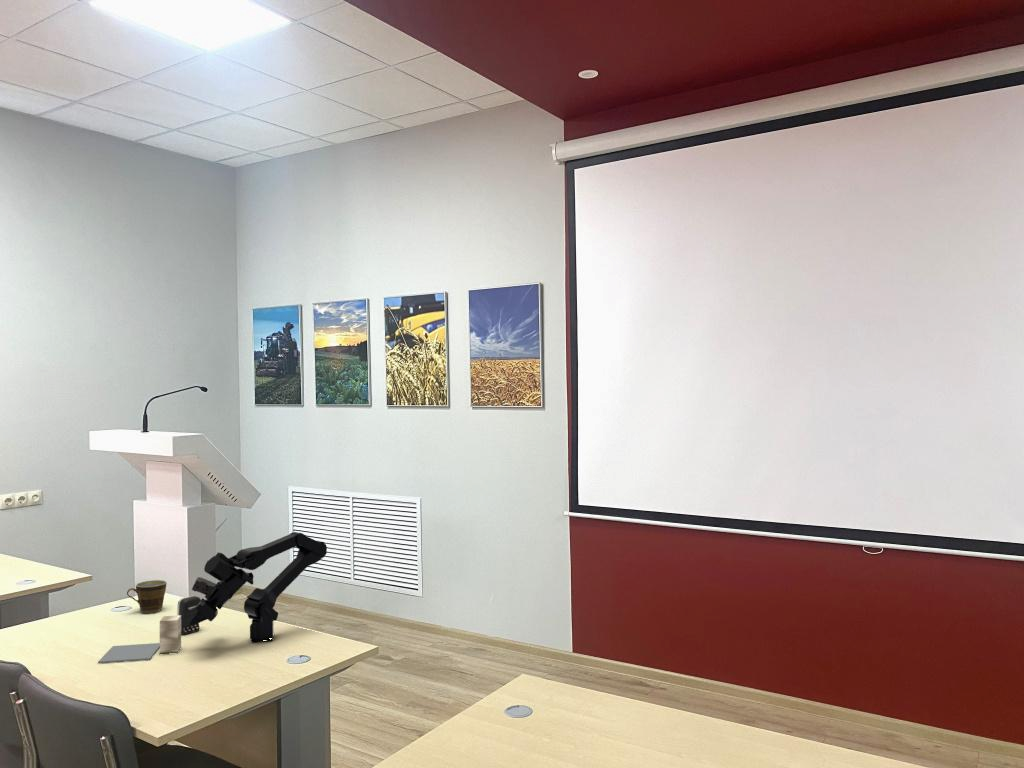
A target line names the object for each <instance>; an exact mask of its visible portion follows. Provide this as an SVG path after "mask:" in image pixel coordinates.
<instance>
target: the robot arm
mask: <svg viewBox="0 0 1024 768" xmlns="http://www.w3.org/2000/svg"><path fill="white" fill-rule="evenodd" d="M293 548H296V549H298V550H297V554H296V557H295V558H294V559H293V560H292V561H291V562H290V563H289V564H288V565H287V566H286V567H285V568H284V569H283V570H282V571H281V572H280V573H279V574H278V575H277V576H276V577H275V578H274V579H273V580H272V581H271V582H270V583H269V584H268V585H267V586H266V587H265V588H263V589H262V588H259V587H256V588H255V589H254V590H253V591H252V592H251V593H250V594H249V595H246V599H245V601H244V602H243V610H244V613H245V614H246V615H247V617H248V619H250V620H251V624H250V626H249V640H250V642H251V641H252V642H251V643H254V642H253V641H263V640H270V639H269V638H272V639H273V640H274V638H273V633H274V622H275V621H277V620H278V616H279V613H278V612H277V610H275V608H274V607H275V605H276V602H277V599H278V597H279V596H280V595H282V593H283V592H284V591H285V590H286V589H287V588H288V587H289V586H290V585H291V584H292V583H293V582H294V581H295V580H296V579H297V578H298V577H299V576H300V575H301V574H302V573H303V572H304V571H305V570H306V569H307V568H308V567H309V566H311V565H314V564H316V563H318V562H319V561H321V560H323V559H324V558H325V557H326V555H327V554H328V552H327V550H328V547H327V544H326V543H325V542H324V541H321V540H316V539H313V538H311V537H309V536H308V535H305V533H302V532H298V531H292V532H291V533H289V534H287V535H284V536H282V537H280V538H278V539H276V540H273V541H270V542H268V543H266V544H263V545H261V546H253V547H252V546H251V547H245V548H242V549H240V550H238V552H237V553H236V554H235V555H233V556H230V557H227V556H226V555H225V554H224V553H222V552H219V551H218V552H217V553H216V554H215V555H214V556H212V557H211V558H210V559H209V560H207V561H206V562H205V565H204V569H203V570H204V573H207V574H208V575H210V576H211V577H213V578H215V579H216V580H218V581H217V583H215V582H213V581H211V580H208V579H206V578H203V577H201V576H200V577H198V576H197V578H196V580H195V582H194V583H193V585H192V587H191V591H194V592H197V593H200V594H202V595H205V596H204V598H203V597H202V598H200V599H201V601H200V602H199V604H198V605H197V606H196V609H197V610H198V612H197V613H196V615H195V616H194V617H193V619H192V620H191V622H190V623H189V624H190V625H191V626H193V625H195V624H198V623H199V624H200V623H202V622H205V621H209V622H212V621H214V619H215V618H216V617H217V616H218V614H219V613H218V612H219V611H218V610H221V609H222V608H223V606H224V605H225V604H226V603H228V601H230V600H231V599H232V598H233V596H234V595H235V594H236V593H237V592H238V591H239V590H240V589H242V587H243V586H245V584H246V583H248V584H250V585H254V576H255V575H254V574H253V572H251V571H254V570H257V569H259V567H261V566H263V565H264V564H265V563H266V561H268V560H269V559H270V558H273V557H275V556H277V555H280V554H282V553H284V552H287V551H288V550H291V549H293ZM243 569H244V570H243ZM245 570H249V571H250V572H247V571H245ZM272 639H271V640H272ZM273 640H272V641H273Z"/></svg>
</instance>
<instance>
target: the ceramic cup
mask: <svg viewBox="0 0 1024 768" xmlns="http://www.w3.org/2000/svg"><path fill="white" fill-rule="evenodd" d="M166 590H167V581H165V580H159V579H156V580H155V579H153V580H146V581H142V582H138V583H136V584H135V588H134V587H131V588H129V589H128V590H127V591H126V595H127V597H129V598H131V599H132V600H133V601H135V602H137V604H138V605H139V610H140V611H139V612H140V614H142V615H152V614H153V615H154V614H157V613H160V612H162V610H163V606H164V599H165V594H166ZM131 591H133V592H134V593H136V594H137V599H136V598H135V597H133V596H131V595H129V592H131Z"/></svg>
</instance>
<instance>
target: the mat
mask: <svg viewBox="0 0 1024 768" xmlns="http://www.w3.org/2000/svg"><path fill="white" fill-rule="evenodd" d="M159 647H160V642H155V643H154V642H153V643H152V642H151V643H141V644H140V643H139V644H138V643H137V644H125V645H112V647H110V649H108V650H107V652H105V654H104V655H103V656H102V657H101V658H100V659H99V660H98V661H97V664H98V663H102V664H110V663H109V662H117V663H125V662H124V661H131V662H140V661H139V660H145V661H149V660H148V659H151V660H152V659H153V657H154V656H155V655H156V653H157V652H158V651H159V650H160V648H159ZM157 650H158V651H157ZM156 651H157V652H156ZM154 654H155V655H154ZM153 655H154V656H153ZM152 656H153V657H152Z"/></svg>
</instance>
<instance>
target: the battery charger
mask: <svg viewBox="0 0 1024 768" xmlns="http://www.w3.org/2000/svg"><path fill="white" fill-rule="evenodd" d="M201 599H202V598H200V597H199V596H196V595H189V596H186V597H181V598H180V599H179V600H178V601H177V616H178V615H181V636H182V635H189V634H192V633H196V632H199V631H200V623H198V624H195V625H193V626H191V625H190V624H189V623H190V622H191V620H192V619H193V617H194V616H195V615H196V613H197V612H198V610H197V609H196V606H197V605H198V604H199V602H200V601H201Z"/></svg>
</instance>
